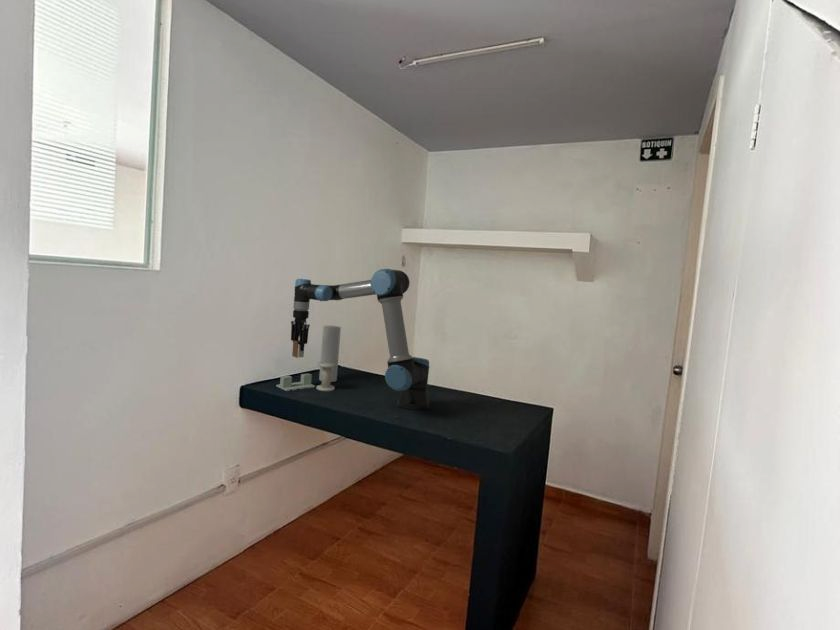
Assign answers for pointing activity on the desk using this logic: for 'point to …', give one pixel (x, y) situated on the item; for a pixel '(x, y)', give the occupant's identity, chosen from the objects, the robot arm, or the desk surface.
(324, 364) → the bobbin
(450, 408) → the desk surface
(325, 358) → the cylinder container
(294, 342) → the brown wooden block
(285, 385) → the terminal board
